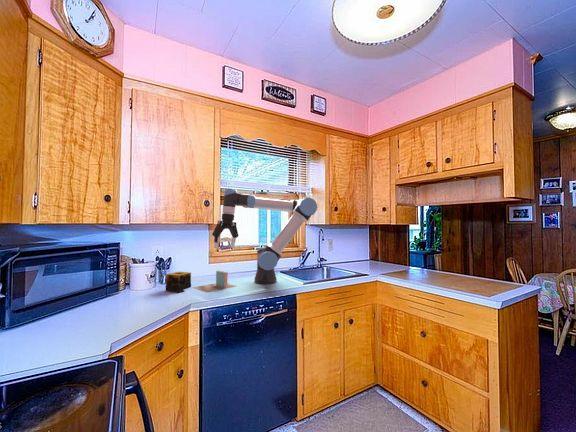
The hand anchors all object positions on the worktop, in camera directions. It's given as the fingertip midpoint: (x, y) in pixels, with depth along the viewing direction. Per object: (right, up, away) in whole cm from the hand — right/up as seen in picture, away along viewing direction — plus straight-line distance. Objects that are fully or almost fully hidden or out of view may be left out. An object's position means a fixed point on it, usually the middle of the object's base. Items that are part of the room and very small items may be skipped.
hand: (224, 247), depth 163 cm
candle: (-25, -24, -9) cm, 36 cm away
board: (-4, -24, -5) cm, 25 cm away
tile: (-1, -23, -4) cm, 23 cm away
